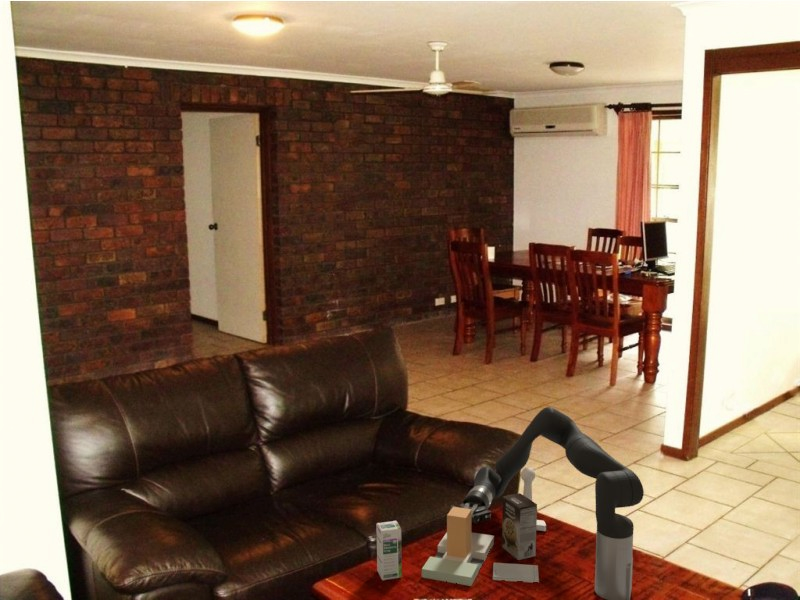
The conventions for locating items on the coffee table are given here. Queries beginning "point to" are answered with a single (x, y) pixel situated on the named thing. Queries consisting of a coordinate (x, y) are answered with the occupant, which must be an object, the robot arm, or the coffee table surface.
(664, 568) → the coffee table surface
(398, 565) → the syrup box
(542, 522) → the joystick
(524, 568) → the hard drive
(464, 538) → the orange block
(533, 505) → the coffee box
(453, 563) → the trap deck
